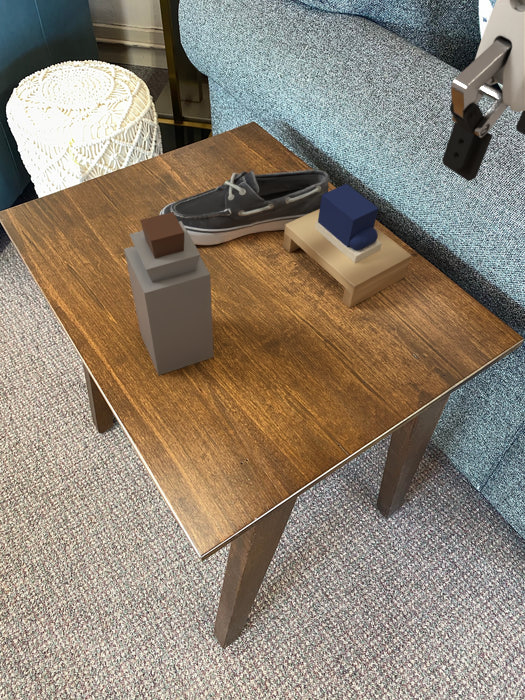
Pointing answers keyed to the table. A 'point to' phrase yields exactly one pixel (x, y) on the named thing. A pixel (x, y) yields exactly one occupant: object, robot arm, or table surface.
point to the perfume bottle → (170, 294)
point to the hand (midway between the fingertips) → (495, 153)
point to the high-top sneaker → (349, 222)
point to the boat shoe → (250, 205)
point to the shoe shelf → (353, 276)
